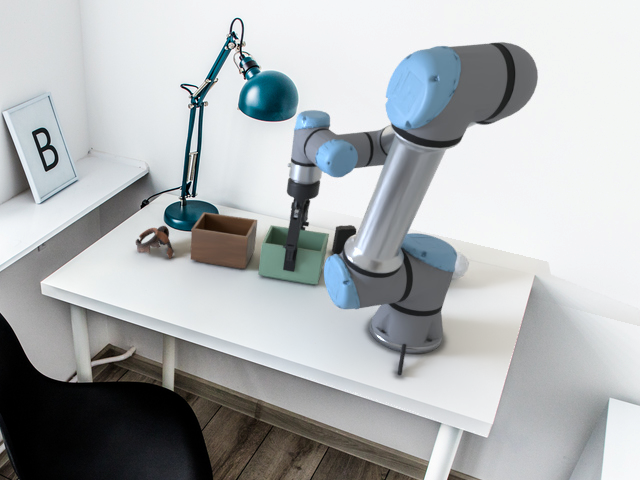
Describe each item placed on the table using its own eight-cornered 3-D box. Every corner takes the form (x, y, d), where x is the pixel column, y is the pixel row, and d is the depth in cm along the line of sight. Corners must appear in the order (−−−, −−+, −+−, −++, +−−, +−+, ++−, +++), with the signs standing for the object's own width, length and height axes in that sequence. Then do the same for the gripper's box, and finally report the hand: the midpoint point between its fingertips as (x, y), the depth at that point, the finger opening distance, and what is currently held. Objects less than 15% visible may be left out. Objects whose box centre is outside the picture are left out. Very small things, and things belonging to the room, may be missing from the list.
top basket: (316, 288, 164) (322, 253, 158) (258, 278, 169) (261, 243, 163) (323, 267, 172) (329, 233, 166) (266, 258, 177) (270, 225, 171)
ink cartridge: (349, 251, 179) (354, 224, 174) (351, 255, 177) (357, 228, 173) (331, 252, 179) (336, 225, 174) (333, 255, 177) (338, 229, 173)
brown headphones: (169, 265, 176) (154, 243, 172) (142, 272, 182) (127, 250, 178) (183, 237, 183) (169, 214, 178) (157, 243, 189) (142, 222, 184)
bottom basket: (244, 271, 171) (248, 237, 166) (190, 262, 176) (191, 229, 170) (254, 253, 180) (257, 219, 174) (201, 244, 184) (203, 212, 178)
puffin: (442, 250, 169) (418, 273, 163) (467, 244, 163) (443, 268, 157) (453, 272, 170) (430, 295, 165) (478, 267, 164) (455, 291, 159)
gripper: (297, 159, 165) (286, 237, 178) (279, 195, 148) (268, 278, 161) (327, 163, 163) (314, 241, 176) (312, 200, 145) (299, 284, 158)
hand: (292, 259), depth 168 cm, fingers closed on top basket, 11 cm apart
